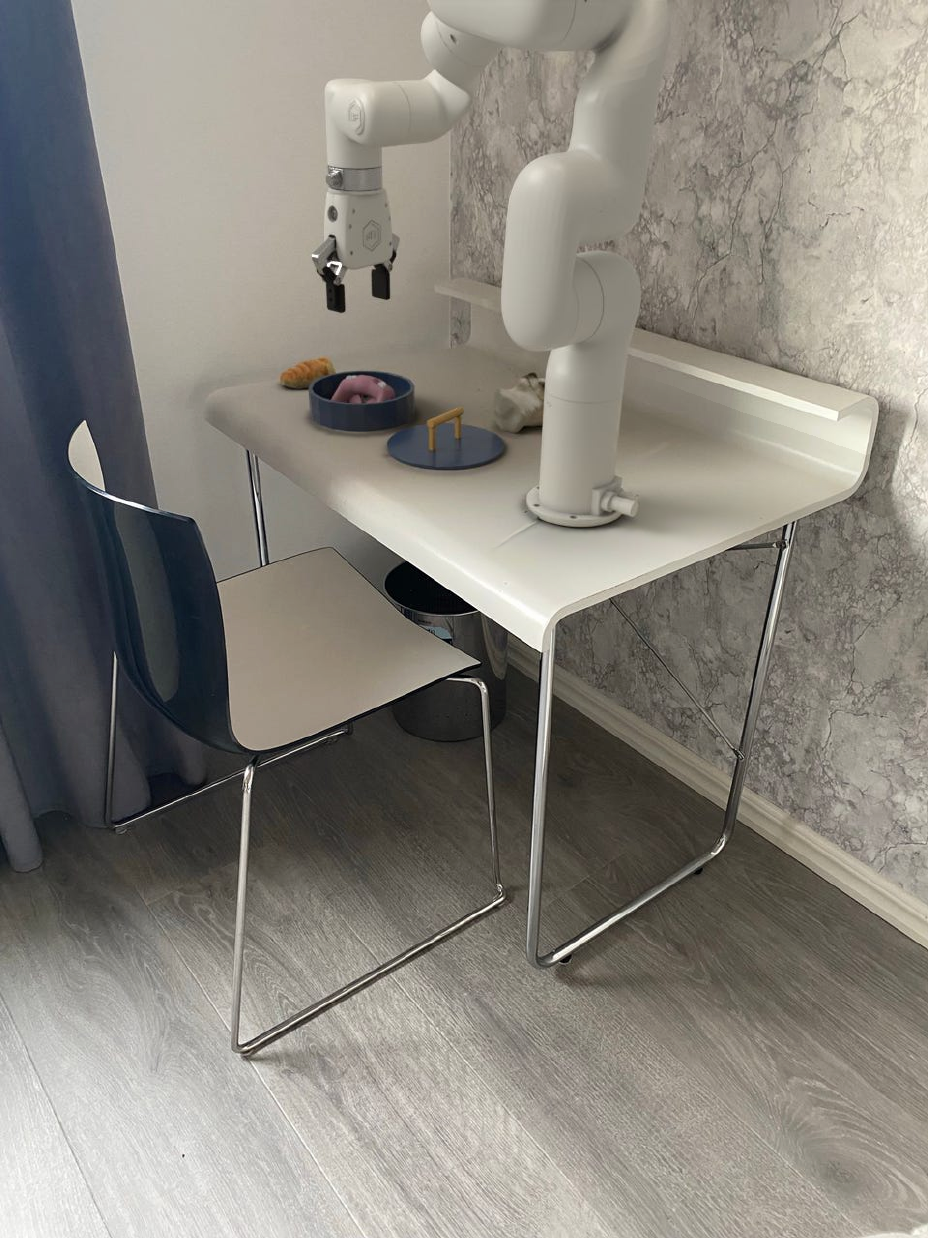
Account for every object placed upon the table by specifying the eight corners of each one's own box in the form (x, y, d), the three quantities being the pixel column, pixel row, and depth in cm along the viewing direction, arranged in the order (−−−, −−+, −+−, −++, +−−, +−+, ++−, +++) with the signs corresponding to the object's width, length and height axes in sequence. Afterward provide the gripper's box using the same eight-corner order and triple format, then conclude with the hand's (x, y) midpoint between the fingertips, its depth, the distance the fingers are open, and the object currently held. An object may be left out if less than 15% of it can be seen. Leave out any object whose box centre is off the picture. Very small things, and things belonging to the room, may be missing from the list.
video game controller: (391, 428, 156) (402, 384, 155) (375, 423, 152) (386, 377, 151) (341, 416, 161) (351, 372, 160) (324, 411, 157) (335, 366, 156)
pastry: (292, 393, 166) (291, 371, 164) (272, 383, 170) (270, 361, 169) (340, 382, 171) (339, 360, 169) (319, 373, 176) (318, 351, 174)
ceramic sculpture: (475, 367, 150) (552, 358, 158) (471, 423, 154) (546, 411, 162) (518, 388, 143) (596, 376, 151) (512, 445, 147) (589, 431, 155)
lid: (526, 447, 147) (528, 410, 144) (455, 484, 135) (455, 444, 132) (436, 421, 156) (436, 386, 153) (362, 453, 144) (361, 416, 141)
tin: (435, 413, 159) (435, 384, 156) (366, 443, 148) (365, 411, 145) (360, 392, 167) (358, 364, 164) (289, 418, 156) (287, 388, 153)
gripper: (331, 190, 131) (337, 321, 140) (415, 175, 143) (416, 297, 152) (291, 183, 135) (299, 311, 144) (376, 169, 146) (379, 289, 156)
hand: (359, 304), depth 148 cm, fingers open, 9 cm apart
